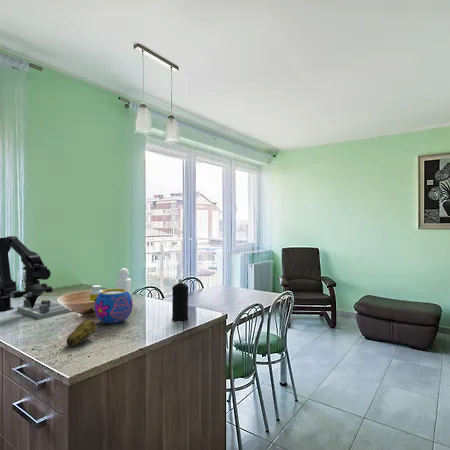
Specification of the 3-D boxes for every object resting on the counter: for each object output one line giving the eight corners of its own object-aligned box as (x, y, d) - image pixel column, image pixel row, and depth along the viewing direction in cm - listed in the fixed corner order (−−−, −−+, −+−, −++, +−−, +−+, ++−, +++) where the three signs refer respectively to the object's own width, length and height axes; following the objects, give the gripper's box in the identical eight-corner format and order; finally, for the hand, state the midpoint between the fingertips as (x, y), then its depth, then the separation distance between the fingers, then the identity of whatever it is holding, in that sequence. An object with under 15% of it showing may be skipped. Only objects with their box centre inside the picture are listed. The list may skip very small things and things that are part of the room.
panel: (17, 310, 169) (17, 300, 169) (51, 303, 183) (51, 294, 183) (39, 319, 154) (39, 308, 154) (74, 310, 169) (74, 300, 169)
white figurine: (131, 305, 181) (131, 267, 181) (126, 308, 174) (126, 269, 174) (120, 304, 182) (120, 267, 181) (115, 307, 175) (115, 268, 175)
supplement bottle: (98, 311, 169) (98, 287, 169) (87, 310, 170) (87, 286, 170) (105, 307, 175) (105, 285, 175) (94, 307, 177) (94, 284, 177)
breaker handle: (41, 306, 169) (41, 300, 169) (47, 305, 171) (47, 299, 171) (44, 307, 167) (44, 301, 167) (50, 306, 169) (50, 300, 169)
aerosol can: (191, 317, 157) (191, 278, 157) (182, 322, 150) (182, 281, 150) (177, 315, 161) (177, 277, 161) (168, 320, 153) (168, 279, 153)
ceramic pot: (122, 314, 163) (122, 285, 163) (139, 322, 150) (139, 291, 150) (88, 321, 151) (88, 290, 151) (103, 331, 138) (103, 297, 138)
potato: (59, 344, 123) (59, 324, 123) (90, 335, 133) (90, 316, 133) (70, 350, 118) (70, 329, 118) (101, 339, 128) (101, 320, 128)
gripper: (18, 283, 151) (18, 315, 151) (57, 277, 166) (57, 306, 166) (9, 280, 157) (9, 311, 157) (47, 275, 172) (47, 303, 173)
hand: (31, 308), depth 163 cm, fingers closed
